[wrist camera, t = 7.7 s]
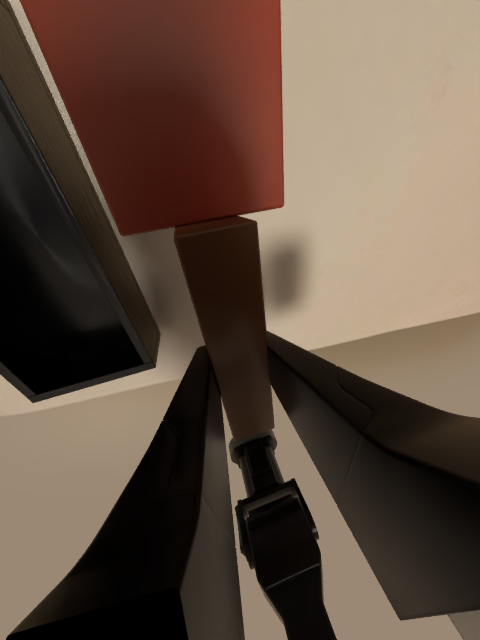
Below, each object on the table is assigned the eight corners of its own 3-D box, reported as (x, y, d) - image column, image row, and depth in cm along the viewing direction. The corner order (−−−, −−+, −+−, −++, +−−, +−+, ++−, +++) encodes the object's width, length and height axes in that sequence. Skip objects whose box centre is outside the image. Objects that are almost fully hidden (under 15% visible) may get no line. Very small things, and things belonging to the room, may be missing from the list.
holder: (160, 333, 18) (155, 367, 15) (64, 359, 17) (32, 403, 14) (8, -1, 9) (-123, -154, 5) (-233, 10, 8) (-631, -175, 4)
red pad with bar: (261, -152, 4) (358, -569, 2) (282, 380, 12) (303, 418, 10) (-43, -177, 3) (-473, -906, 1) (198, 406, 11) (202, 453, 9)
